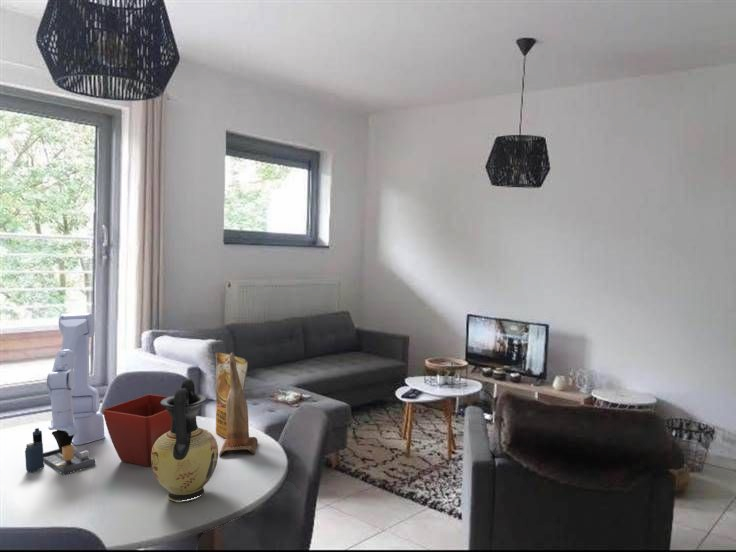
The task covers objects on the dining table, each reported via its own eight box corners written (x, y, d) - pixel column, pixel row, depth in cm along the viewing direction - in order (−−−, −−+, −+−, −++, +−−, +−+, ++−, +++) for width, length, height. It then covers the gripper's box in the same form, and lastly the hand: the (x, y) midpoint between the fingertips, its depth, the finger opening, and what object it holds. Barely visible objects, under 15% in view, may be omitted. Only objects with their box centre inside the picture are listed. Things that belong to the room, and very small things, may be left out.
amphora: (220, 504, 144) (216, 389, 142) (150, 515, 140) (144, 395, 138) (218, 477, 161) (214, 373, 159) (155, 485, 157) (150, 379, 154)
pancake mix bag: (226, 426, 205) (223, 350, 203) (252, 439, 191) (249, 357, 189) (209, 430, 201) (205, 353, 199) (234, 444, 186) (231, 361, 185)
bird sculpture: (257, 443, 188) (253, 347, 187) (255, 455, 177) (251, 353, 176) (223, 446, 187) (218, 349, 186) (219, 458, 175) (214, 356, 174)
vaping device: (46, 466, 172) (43, 427, 171) (30, 473, 167) (28, 433, 166) (39, 465, 173) (37, 427, 172) (24, 472, 168) (21, 432, 167)
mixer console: (72, 451, 184) (71, 439, 184) (95, 465, 172) (94, 452, 172) (41, 459, 178) (40, 447, 177) (63, 474, 166) (63, 461, 165)
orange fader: (71, 459, 173) (71, 444, 173) (74, 461, 172) (73, 445, 172) (62, 462, 172) (61, 446, 171) (65, 464, 170) (64, 448, 170)
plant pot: (196, 450, 182) (193, 399, 181) (150, 473, 165) (147, 417, 164) (151, 443, 190) (149, 393, 189) (104, 464, 173) (100, 410, 172)
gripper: (39, 408, 174) (42, 451, 175) (57, 417, 165) (60, 463, 165) (63, 403, 179) (66, 445, 180) (82, 411, 170) (85, 455, 171)
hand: (65, 453), depth 173 cm, fingers closed
